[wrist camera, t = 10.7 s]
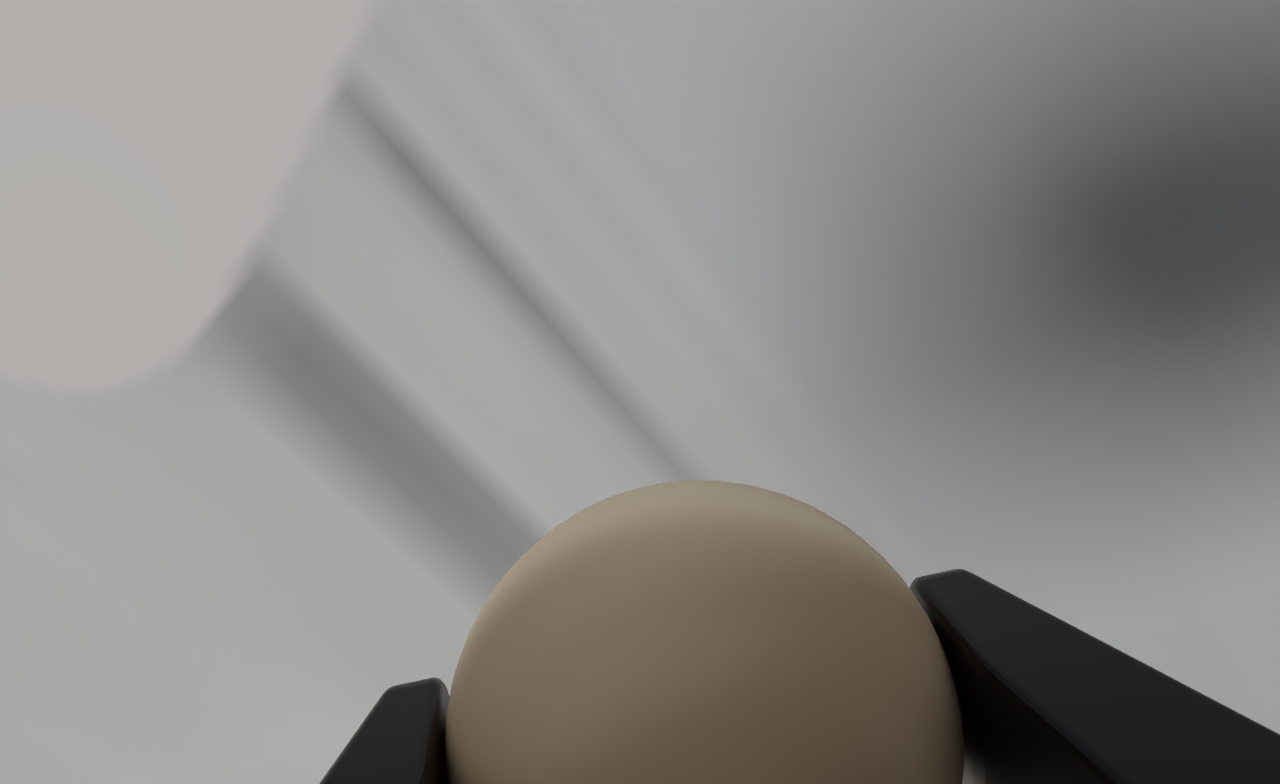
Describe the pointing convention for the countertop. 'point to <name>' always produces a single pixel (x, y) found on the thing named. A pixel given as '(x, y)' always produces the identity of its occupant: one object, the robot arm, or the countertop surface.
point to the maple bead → (703, 653)
